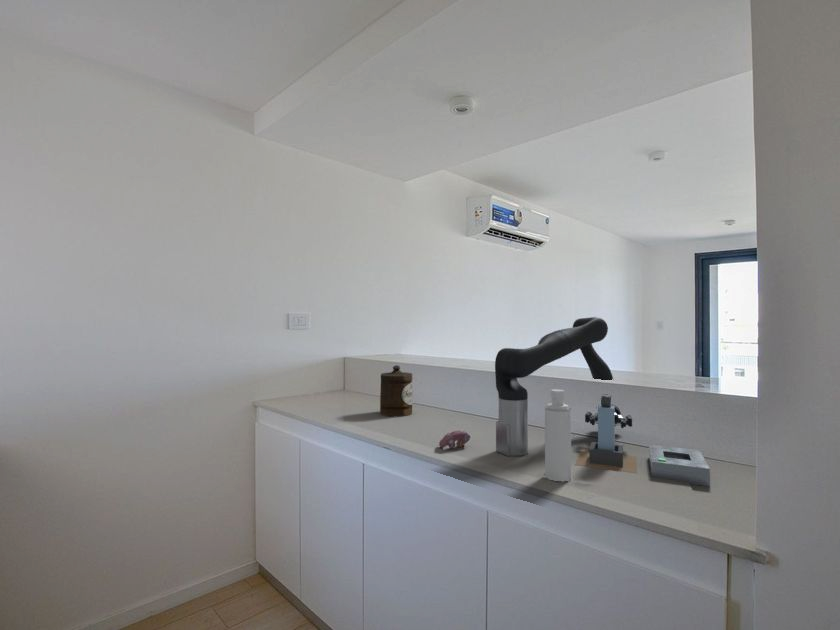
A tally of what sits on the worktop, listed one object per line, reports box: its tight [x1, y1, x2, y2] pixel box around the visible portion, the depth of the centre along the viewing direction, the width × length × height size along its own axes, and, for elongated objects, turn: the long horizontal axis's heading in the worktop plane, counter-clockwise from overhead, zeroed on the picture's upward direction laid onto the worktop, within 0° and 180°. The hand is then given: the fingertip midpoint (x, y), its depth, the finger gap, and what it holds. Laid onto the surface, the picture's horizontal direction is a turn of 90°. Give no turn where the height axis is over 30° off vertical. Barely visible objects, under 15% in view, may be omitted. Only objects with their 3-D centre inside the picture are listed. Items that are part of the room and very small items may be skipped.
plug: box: [597, 395, 616, 451], centre depth 129 cm, size 4×4×19 cm
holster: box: [575, 441, 638, 474], centre depth 129 cm, size 16×16×5 cm
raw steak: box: [438, 430, 471, 449], centre depth 145 cm, size 10×5×7 cm, turn 118°
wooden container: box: [379, 365, 413, 417], centre depth 200 cm, size 15×15×22 cm
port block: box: [648, 444, 711, 487], centre depth 121 cm, size 18×13×5 cm
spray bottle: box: [544, 388, 572, 483], centre depth 117 cm, size 7×7×25 cm
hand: (607, 423), depth 138 cm, fingers open, 8 cm apart
